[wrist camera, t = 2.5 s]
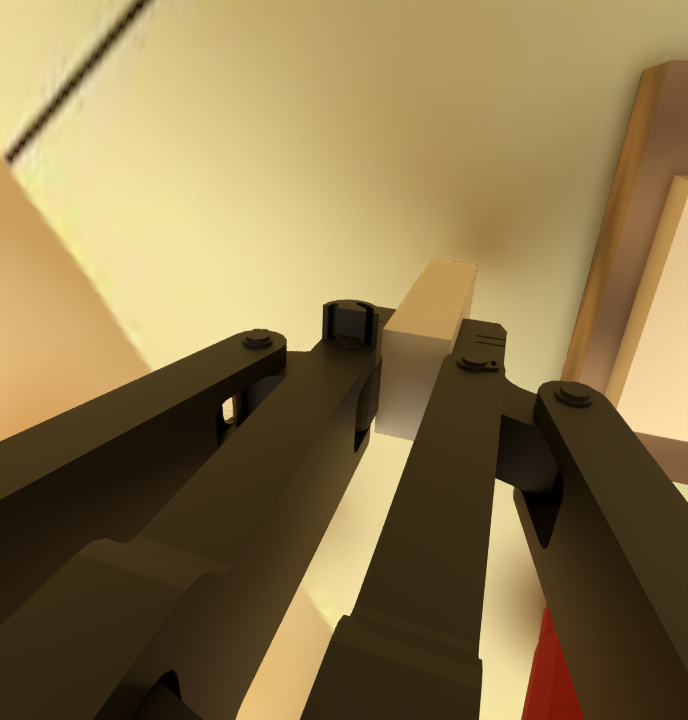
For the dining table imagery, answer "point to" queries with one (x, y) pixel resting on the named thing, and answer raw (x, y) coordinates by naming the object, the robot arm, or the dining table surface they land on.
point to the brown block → (634, 240)
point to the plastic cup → (550, 680)
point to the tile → (658, 332)
